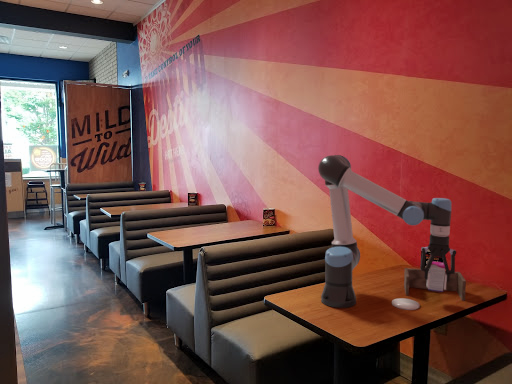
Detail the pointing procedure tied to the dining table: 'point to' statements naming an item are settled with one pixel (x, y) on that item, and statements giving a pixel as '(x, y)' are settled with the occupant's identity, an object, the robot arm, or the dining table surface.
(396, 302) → the pebble
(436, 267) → the supplement box
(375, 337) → the dining table surface
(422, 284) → the cubby
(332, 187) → the robot arm
